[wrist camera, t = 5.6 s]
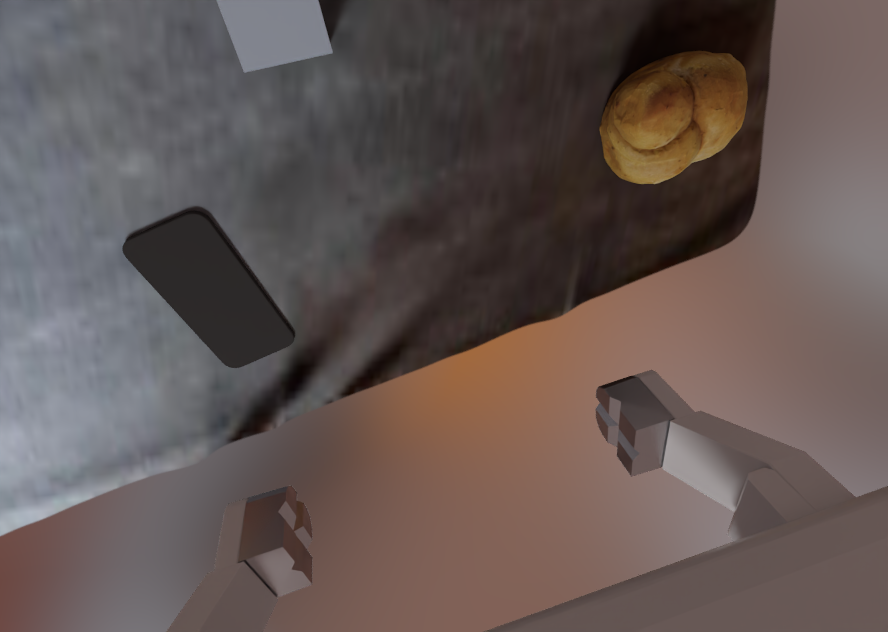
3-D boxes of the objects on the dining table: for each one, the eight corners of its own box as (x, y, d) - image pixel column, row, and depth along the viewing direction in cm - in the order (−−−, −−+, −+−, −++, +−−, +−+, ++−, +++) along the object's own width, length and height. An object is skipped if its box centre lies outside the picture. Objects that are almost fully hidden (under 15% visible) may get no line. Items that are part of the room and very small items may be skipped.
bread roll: (727, 26, 38) (812, 29, 31) (715, 142, 44) (785, 165, 37) (583, 75, 37) (639, 88, 31) (590, 186, 43) (639, 217, 37)
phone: (229, 372, 45) (114, 246, 36) (231, 366, 45) (117, 241, 36) (299, 341, 45) (200, 208, 36) (299, 337, 45) (202, 204, 36)
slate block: (258, 59, 32) (244, 72, 25) (230, -20, 29) (205, -28, 23) (329, 44, 32) (332, 52, 26) (307, -36, 29) (305, -48, 23)
